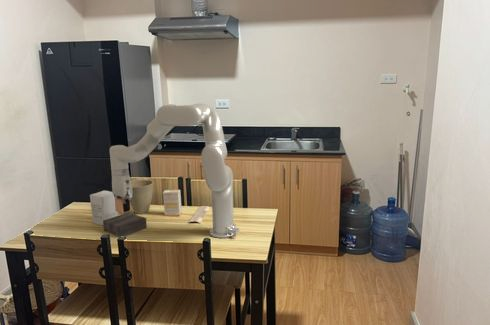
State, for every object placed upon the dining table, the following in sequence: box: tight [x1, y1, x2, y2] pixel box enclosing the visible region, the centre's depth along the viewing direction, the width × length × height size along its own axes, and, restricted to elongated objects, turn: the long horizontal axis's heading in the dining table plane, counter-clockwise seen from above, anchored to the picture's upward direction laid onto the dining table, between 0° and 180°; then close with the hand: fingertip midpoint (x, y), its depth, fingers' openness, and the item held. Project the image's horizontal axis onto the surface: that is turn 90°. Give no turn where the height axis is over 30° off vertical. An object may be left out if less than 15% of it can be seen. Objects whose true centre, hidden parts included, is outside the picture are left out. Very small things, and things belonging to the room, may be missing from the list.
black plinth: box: [103, 211, 147, 237], centre depth 177 cm, size 14×14×5 cm
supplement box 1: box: [89, 190, 119, 227], centre depth 187 cm, size 9×9×15 cm
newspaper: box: [187, 205, 211, 224], centre depth 195 cm, size 24×7×2 cm, turn 173°
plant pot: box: [131, 179, 154, 215], centre depth 200 cm, size 15×15×16 cm
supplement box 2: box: [162, 189, 183, 217], centre depth 195 cm, size 8×5×13 cm, turn 84°
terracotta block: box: [115, 197, 132, 214], centre depth 175 cm, size 5×5×6 cm
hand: (123, 209), depth 176 cm, fingers closed on terracotta block, 5 cm apart
